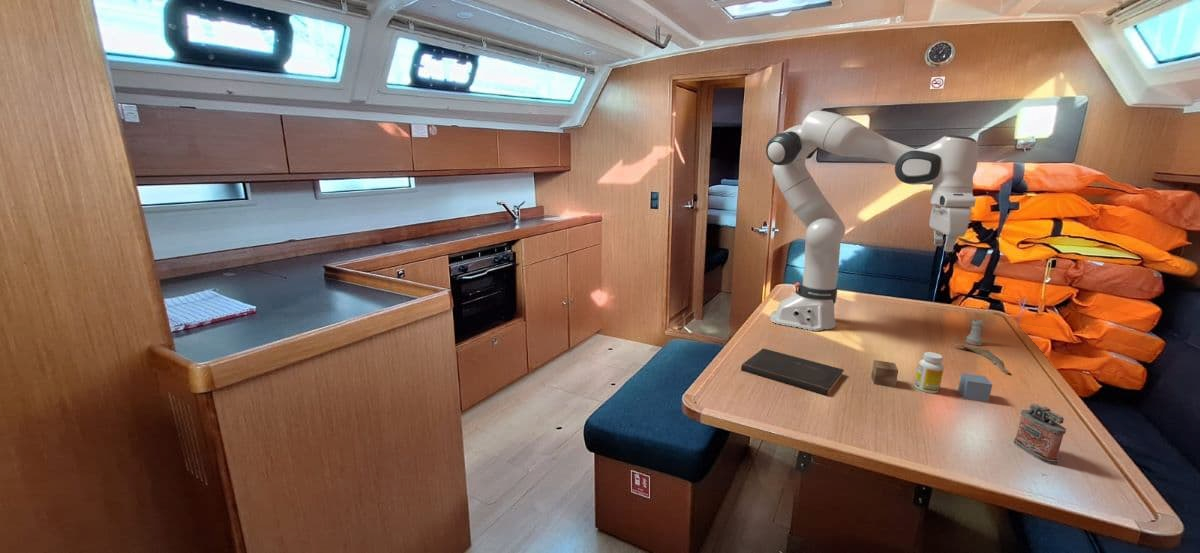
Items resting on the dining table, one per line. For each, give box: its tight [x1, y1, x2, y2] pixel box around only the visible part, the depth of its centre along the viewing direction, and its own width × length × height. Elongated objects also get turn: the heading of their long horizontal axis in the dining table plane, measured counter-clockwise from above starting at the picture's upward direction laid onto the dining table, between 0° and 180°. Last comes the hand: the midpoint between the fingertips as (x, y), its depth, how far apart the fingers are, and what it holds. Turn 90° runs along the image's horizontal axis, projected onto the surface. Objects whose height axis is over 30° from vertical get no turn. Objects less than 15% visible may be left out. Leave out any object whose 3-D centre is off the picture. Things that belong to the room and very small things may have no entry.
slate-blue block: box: [957, 372, 993, 403], centre depth 120 cm, size 5×5×5 cm
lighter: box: [1013, 402, 1067, 465], centre depth 96 cm, size 8×3×10 cm, turn 5°
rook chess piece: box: [964, 318, 985, 346], centre depth 154 cm, size 4×4×8 cm
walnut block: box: [870, 359, 899, 388], centre depth 127 cm, size 5×5×5 cm
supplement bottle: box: [914, 351, 945, 394], centre depth 123 cm, size 5×5×10 cm
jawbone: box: [952, 343, 1012, 376], centre depth 142 cm, size 9×20×2 cm, turn 4°
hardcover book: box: [740, 348, 845, 397], centre depth 132 cm, size 16×23×2 cm
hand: (942, 248), depth 130 cm, fingers open, 8 cm apart
